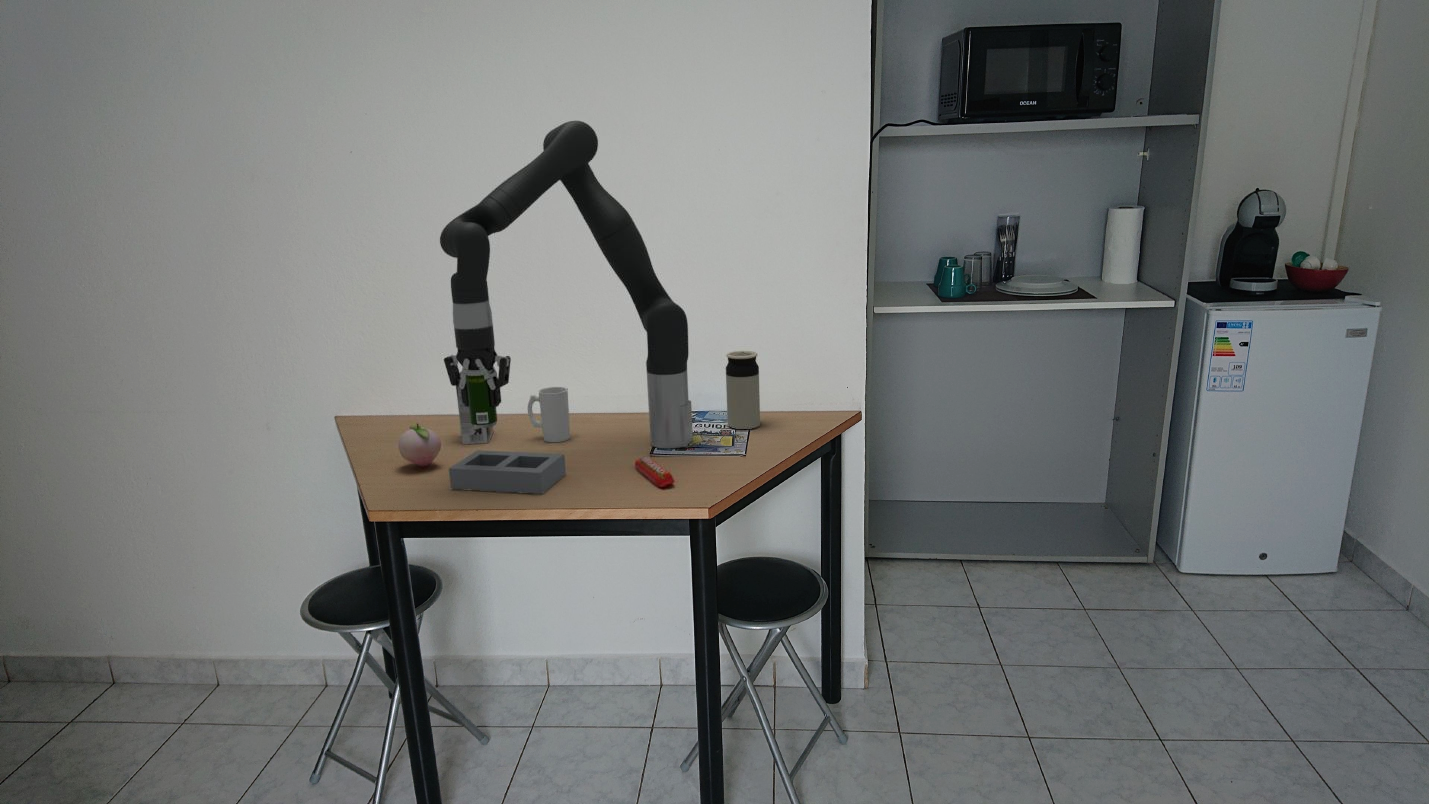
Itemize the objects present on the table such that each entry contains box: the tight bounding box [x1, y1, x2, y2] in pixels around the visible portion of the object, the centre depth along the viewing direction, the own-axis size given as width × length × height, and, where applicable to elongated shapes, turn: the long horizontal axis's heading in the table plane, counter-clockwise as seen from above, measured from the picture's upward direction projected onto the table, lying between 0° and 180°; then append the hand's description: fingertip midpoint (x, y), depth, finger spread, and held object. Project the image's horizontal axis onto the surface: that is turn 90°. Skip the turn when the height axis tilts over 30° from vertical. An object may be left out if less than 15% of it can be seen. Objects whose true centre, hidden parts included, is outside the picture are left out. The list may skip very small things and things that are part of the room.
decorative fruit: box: [397, 422, 442, 468], centre depth 196 cm, size 9×8×10 cm
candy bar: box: [634, 455, 675, 489], centre depth 185 cm, size 16×4×3 cm, turn 24°
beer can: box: [465, 369, 498, 428], centre depth 182 cm, size 5×5×12 cm
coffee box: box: [455, 370, 495, 445], centre depth 215 cm, size 9×6×16 cm
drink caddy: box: [448, 449, 566, 495], centre depth 185 cm, size 20×12×4 cm, turn 76°
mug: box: [527, 386, 571, 443], centre depth 213 cm, size 10×7×12 cm, turn 81°
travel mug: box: [725, 350, 761, 430], centre depth 217 cm, size 8×8×18 cm
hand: (482, 405), depth 183 cm, fingers closed on beer can, 5 cm apart
